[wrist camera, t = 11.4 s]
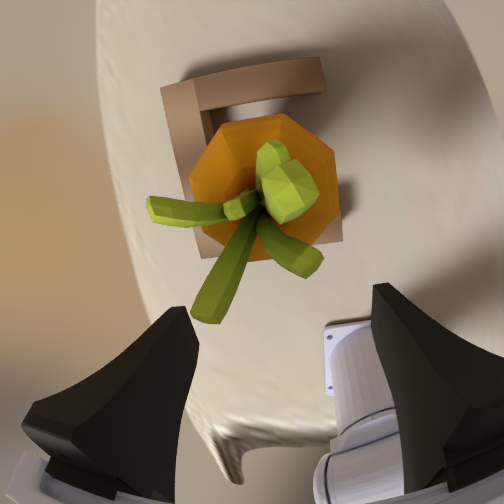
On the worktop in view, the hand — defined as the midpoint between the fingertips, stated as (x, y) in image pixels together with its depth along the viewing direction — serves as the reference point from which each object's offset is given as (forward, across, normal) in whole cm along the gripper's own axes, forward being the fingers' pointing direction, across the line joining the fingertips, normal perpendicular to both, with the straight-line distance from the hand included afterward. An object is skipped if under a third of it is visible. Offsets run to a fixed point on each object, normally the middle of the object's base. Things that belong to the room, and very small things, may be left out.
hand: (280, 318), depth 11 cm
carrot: (+11, 0, -5) cm, 12 cm away
